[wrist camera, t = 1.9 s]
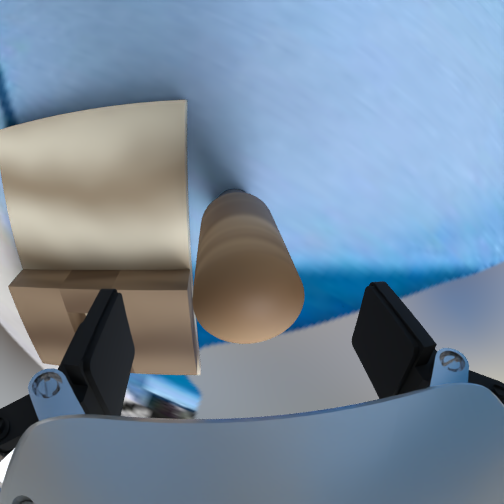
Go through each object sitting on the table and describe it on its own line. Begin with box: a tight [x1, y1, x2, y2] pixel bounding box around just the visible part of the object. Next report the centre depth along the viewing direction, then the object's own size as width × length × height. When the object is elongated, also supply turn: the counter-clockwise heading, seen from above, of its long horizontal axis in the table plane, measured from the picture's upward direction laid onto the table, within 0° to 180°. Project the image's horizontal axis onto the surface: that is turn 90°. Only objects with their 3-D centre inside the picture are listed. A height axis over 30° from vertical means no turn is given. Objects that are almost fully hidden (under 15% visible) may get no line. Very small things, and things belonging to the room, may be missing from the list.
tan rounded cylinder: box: [192, 189, 304, 344], centre depth 15 cm, size 4×4×10 cm
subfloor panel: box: [0, 100, 201, 375], centre depth 19 cm, size 22×14×4 cm, turn 178°
